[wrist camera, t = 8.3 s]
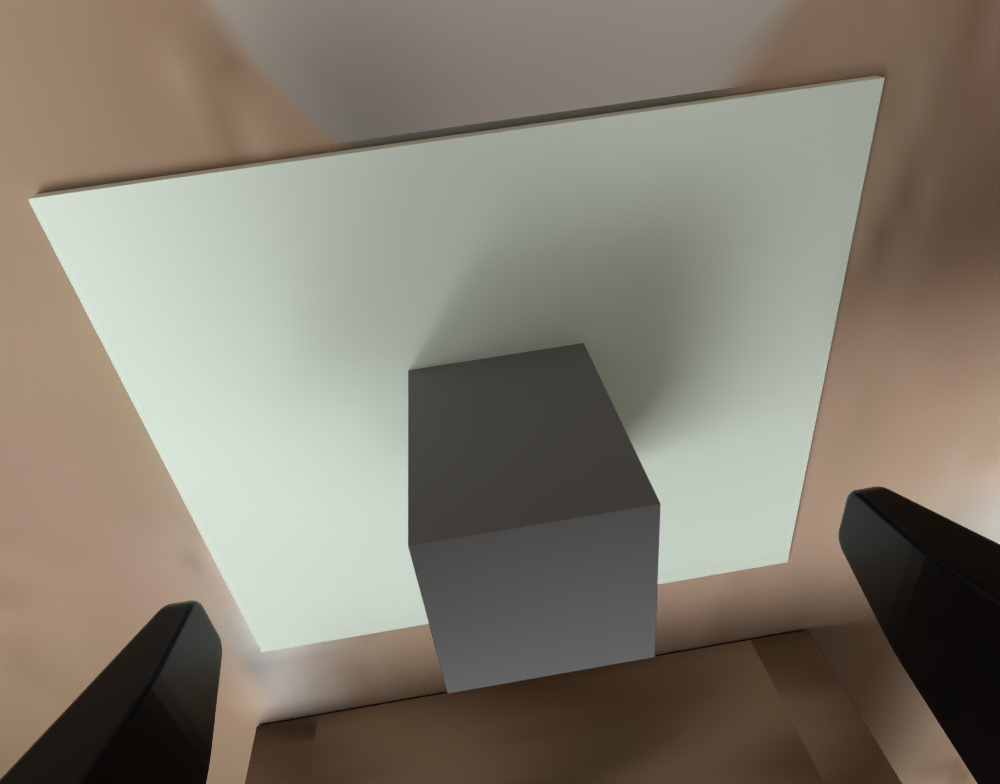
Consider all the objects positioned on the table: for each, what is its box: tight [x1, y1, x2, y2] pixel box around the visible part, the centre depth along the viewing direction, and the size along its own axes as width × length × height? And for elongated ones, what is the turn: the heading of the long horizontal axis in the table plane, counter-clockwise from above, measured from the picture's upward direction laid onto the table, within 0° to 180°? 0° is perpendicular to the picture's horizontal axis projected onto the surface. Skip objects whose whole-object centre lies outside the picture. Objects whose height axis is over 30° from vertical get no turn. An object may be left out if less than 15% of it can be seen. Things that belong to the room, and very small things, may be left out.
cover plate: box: [28, 76, 885, 693], centre depth 10 cm, size 12×10×5 cm
